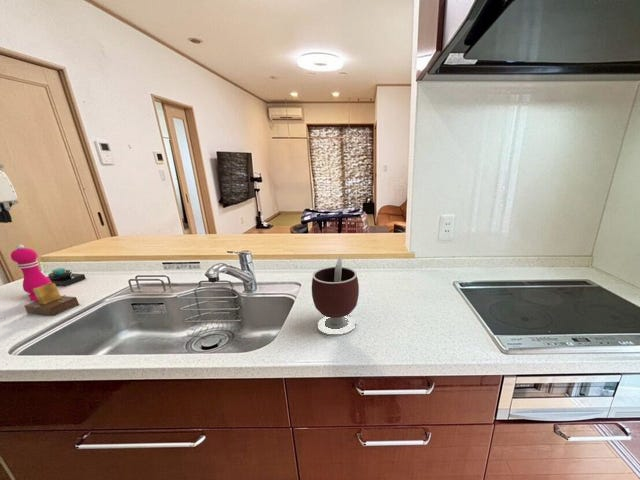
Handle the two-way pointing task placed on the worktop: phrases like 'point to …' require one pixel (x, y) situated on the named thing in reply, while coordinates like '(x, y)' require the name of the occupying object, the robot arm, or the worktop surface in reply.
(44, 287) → the lock turn
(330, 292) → the mate gourd
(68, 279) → the doorbell
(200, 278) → the worktop surface
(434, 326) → the worktop surface
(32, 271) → the pepper mill
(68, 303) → the brown flat block
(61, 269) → the bell button
